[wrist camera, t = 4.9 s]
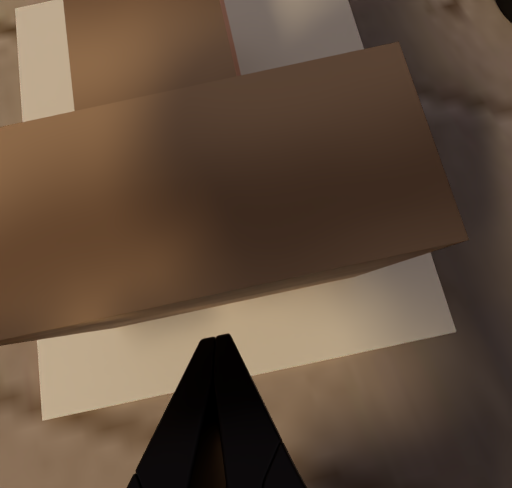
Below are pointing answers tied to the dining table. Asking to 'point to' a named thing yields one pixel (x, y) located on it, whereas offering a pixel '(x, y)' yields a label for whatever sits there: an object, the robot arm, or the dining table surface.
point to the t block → (207, 175)
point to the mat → (244, 312)
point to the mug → (506, 8)
